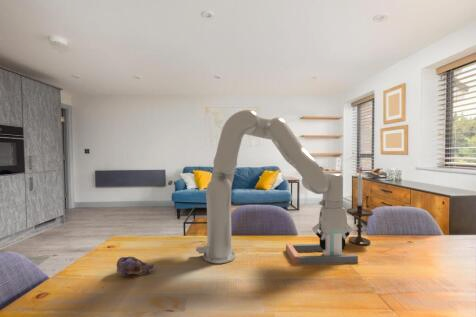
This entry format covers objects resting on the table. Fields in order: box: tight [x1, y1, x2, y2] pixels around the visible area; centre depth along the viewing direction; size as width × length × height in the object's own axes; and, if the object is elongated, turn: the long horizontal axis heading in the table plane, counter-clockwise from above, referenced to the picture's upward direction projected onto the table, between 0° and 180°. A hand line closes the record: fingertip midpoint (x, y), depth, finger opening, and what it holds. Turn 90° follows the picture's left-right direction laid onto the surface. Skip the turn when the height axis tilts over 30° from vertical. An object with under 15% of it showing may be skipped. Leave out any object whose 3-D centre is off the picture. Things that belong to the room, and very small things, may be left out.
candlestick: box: [346, 166, 374, 247], centre depth 114 cm, size 11×11×35 cm
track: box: [285, 243, 359, 266], centre depth 99 cm, size 24×13×3 cm, turn 93°
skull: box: [115, 256, 155, 277], centre depth 85 cm, size 12×8×6 cm, turn 95°
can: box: [322, 229, 343, 255], centre depth 99 cm, size 7×7×12 cm
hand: (332, 248), depth 99 cm, fingers closed on can, 7 cm apart
